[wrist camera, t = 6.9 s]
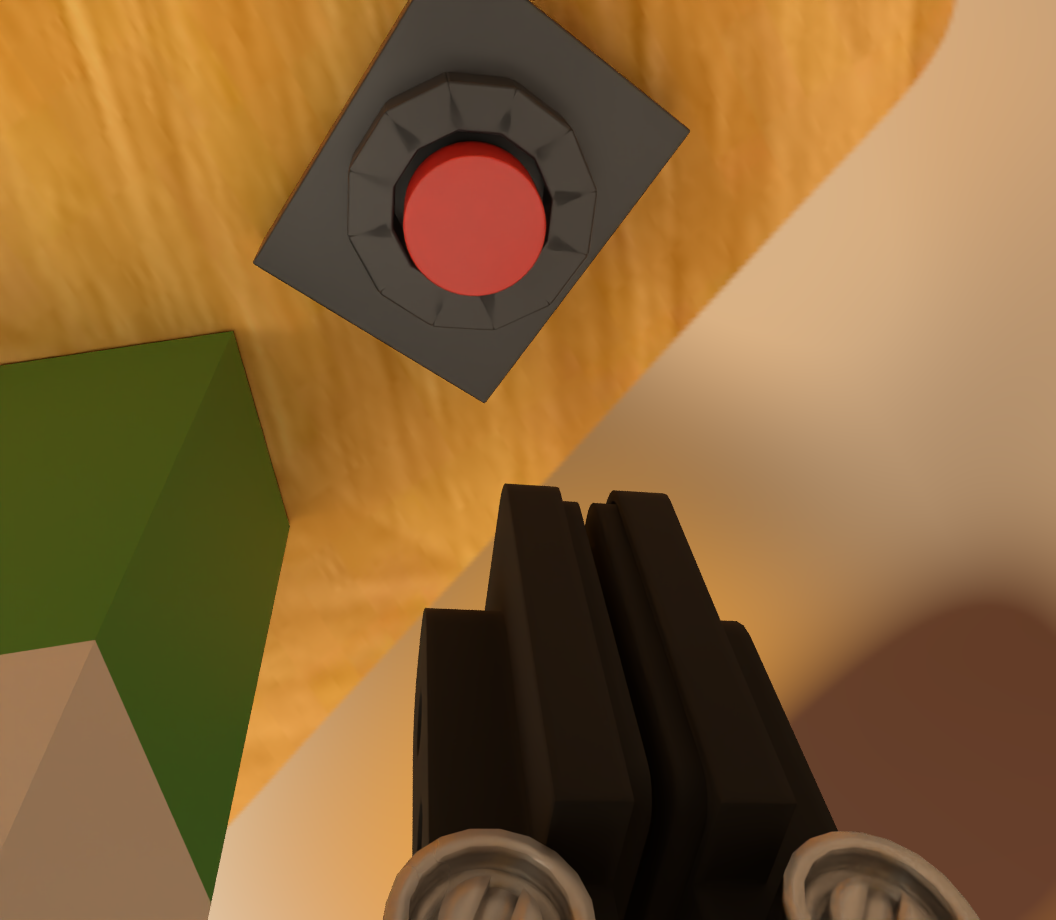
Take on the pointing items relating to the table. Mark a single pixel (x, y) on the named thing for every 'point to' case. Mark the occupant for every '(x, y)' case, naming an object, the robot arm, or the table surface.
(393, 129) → the power block
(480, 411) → the table surface
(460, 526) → the table surface
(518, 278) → the power button
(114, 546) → the hardback book
